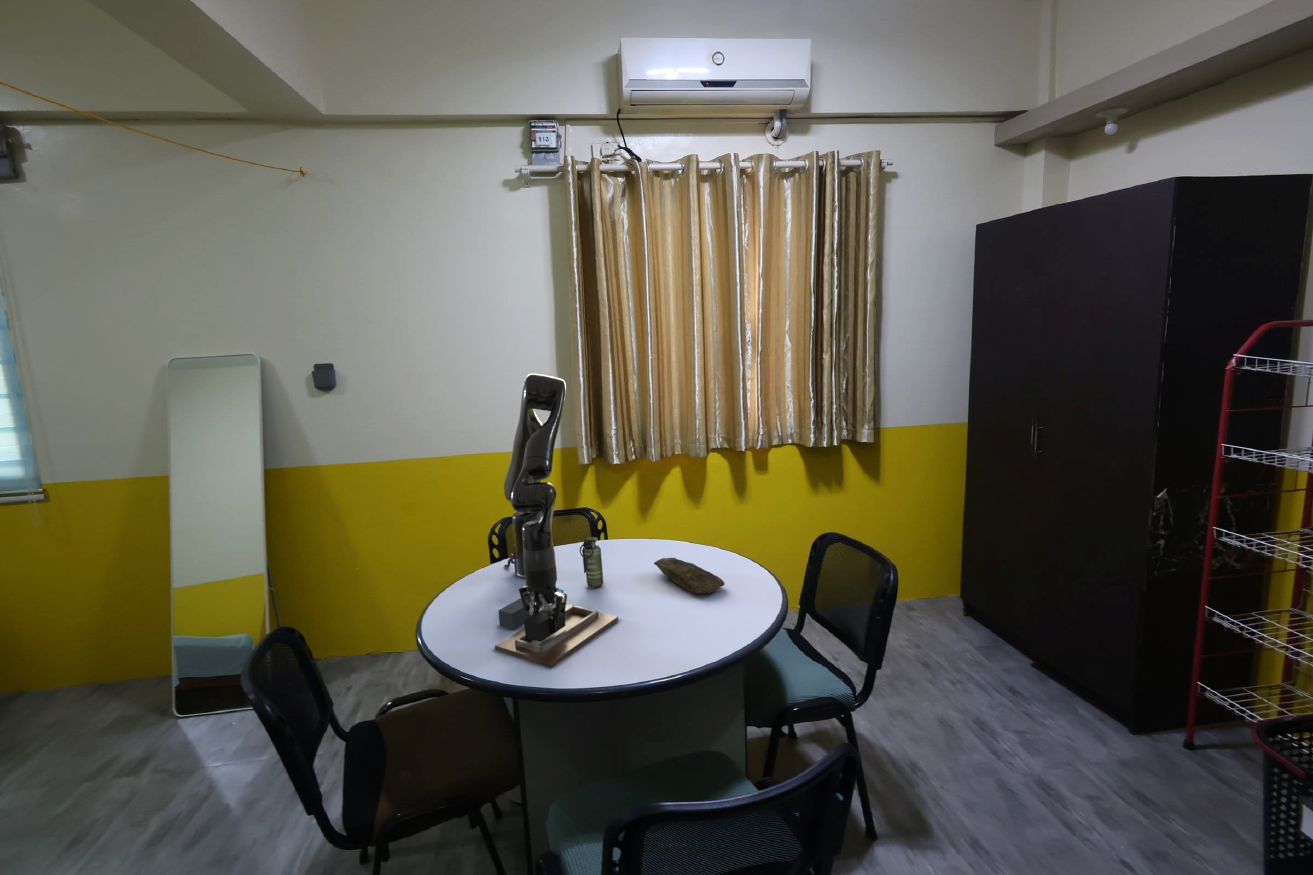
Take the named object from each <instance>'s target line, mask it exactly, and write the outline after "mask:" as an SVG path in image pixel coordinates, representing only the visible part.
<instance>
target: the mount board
mask: <svg viewBox="0 0 1313 875" xmlns="http://www.w3.org/2000/svg"><path fill="white" fill-rule="evenodd" d="M618 621H619V616H617V615H613V614H608V613H606V612H605V613H604V612H600V611H598V610H596V609H590V608H587V607H583V606H578V605H576V604H575V605H574V604H572V605H571V604H568V603H566V609H565V625H566V626H565V627H563V628H561V629H560V630H558V631H557V632H556V633H554V634H552V635H550V636H549V637H547V638H546V639H544V640H543V641H541V642H540V641H537V640H533V639H530V638H526V637H525V627H524V628H522V629H521V630H519V631H517V632H515V633H513V634H512V635H510V636H509V637H507V638H505V639H503V640H502V641H500V642H499V643H496V644H495V645H494V650H495V651H497V652H500V653H503V654H507V655H510V656H512V657H515V658H519V659H522V660H525V661H528V662H531V663H535V664H538V665H540V666H544V667H547V668H550V669H552V668H553V667H555V666H556V665H558V664H559V663H560V662H562V661H563V660H564V659H566V658H568V657H569V656H570V655H572V654H573V653H574V652H576V651H578V650H579V649H580V648H582V647H583V646H584V645H586V644H587V643H589V642H590V641H591V640H593V639H595V638H596V637H597V636H599V635H600V634H602V633H603V632H605V631H606V630H607V629H609V628H610V627H611V626H613V625H615V624H616V623H617V622H618Z"/></svg>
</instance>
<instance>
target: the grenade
mask: <svg viewBox="0 0 1313 875" xmlns="http://www.w3.org/2000/svg"><path fill="white" fill-rule="evenodd" d="M598 540H599V539H598V537H596V536H591V537H590V536H588V537H587V538H584V540H583V543H582V545H581V546H580V547H579V554H580V556H581V557H582V562H583V563H582V564H583V574H585V578H586V584H587V586H588V588H591V589H596V588H601V587H602V586H603V584H604V574H603V572H604V571H603V561H602V550H601V547H600V545H597V544H596V543H597V541H598Z"/></svg>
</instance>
